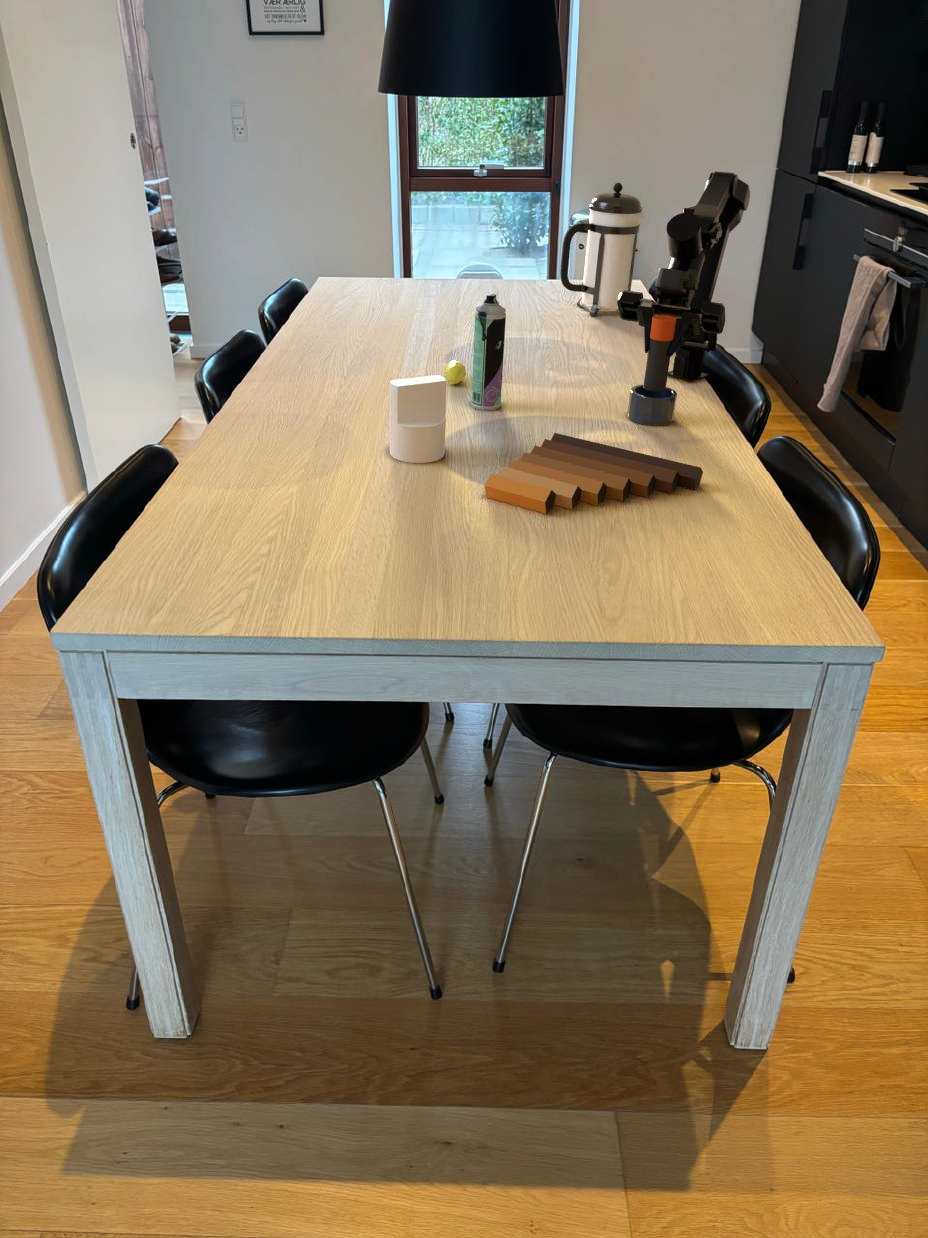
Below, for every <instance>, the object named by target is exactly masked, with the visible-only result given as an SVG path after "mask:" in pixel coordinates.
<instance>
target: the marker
mask: <svg viewBox="0 0 928 1238" xmlns="http://www.w3.org/2000/svg"><path fill="white" fill-rule="evenodd" d="M675 326H676V318H675V317H673V316H669V315H655V316H653V318H652V325H651V333H650V342H649V349H648V353H647V355H646V356H647V357H646V366H645V370H644V378H643V384H642V385H643V388H644V389H646V390H649V391H656V392H659V391H664V390H665V389H666V387H667V382H668V377H669V376H668V372H669V370H670V362H671V357H669V350H670V346H671V344H672V341H673V339H674V332H675Z"/></svg>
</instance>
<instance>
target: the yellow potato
mask: <svg viewBox="0 0 928 1238" xmlns="http://www.w3.org/2000/svg"><path fill="white" fill-rule="evenodd" d="M445 367H446V368H445V372H444V374H445V379H446V381H447V382H448V383H449V384H451V385H457V384H460V383H461V382H462V381H463V379H464V378H465V377H466V375H467V370H466V367H465V365H464V364H463V362H461V361H459V360H451V361H449V362H448V363H447V365H446V366H445Z"/></svg>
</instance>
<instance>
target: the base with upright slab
mask: <svg viewBox="0 0 928 1238" xmlns="http://www.w3.org/2000/svg"><path fill="white" fill-rule="evenodd" d="M446 405H447V378H446V377H443V376H441V375H439V374H435V375H427V376H419V377H411V378H401V379H392V380H389V455H390V456H391V458H394V459H395V460H398V461H401V462H405V463H411V464H426V463H432V462H436V461H439V460H441V459H442V458H443V457H444V456H445V454H446V422H447V421H446V419H447V418H446V412H447V411H446V409H447V406H446Z"/></svg>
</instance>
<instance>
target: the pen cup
mask: <svg viewBox="0 0 928 1238" xmlns="http://www.w3.org/2000/svg"><path fill="white" fill-rule="evenodd" d="M643 385H644V384H637V385H634V386H632V387H631V388H630V390H629V391H630V392H629V398H628V406H627V419H628V420H630V421H631V422H633V423H636V424H640V425H644V426H650V427H651V426H652V427H661V426H667V425H670V424H671V423H672V422H673V420H674V417H675V410H676V404H677V398H678V393H677V391H676V390H675V389H673V388H671V387H668V386H666V389H665V390H664V391H659V392H656V391H649V390H646V389H644V388H643Z"/></svg>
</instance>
